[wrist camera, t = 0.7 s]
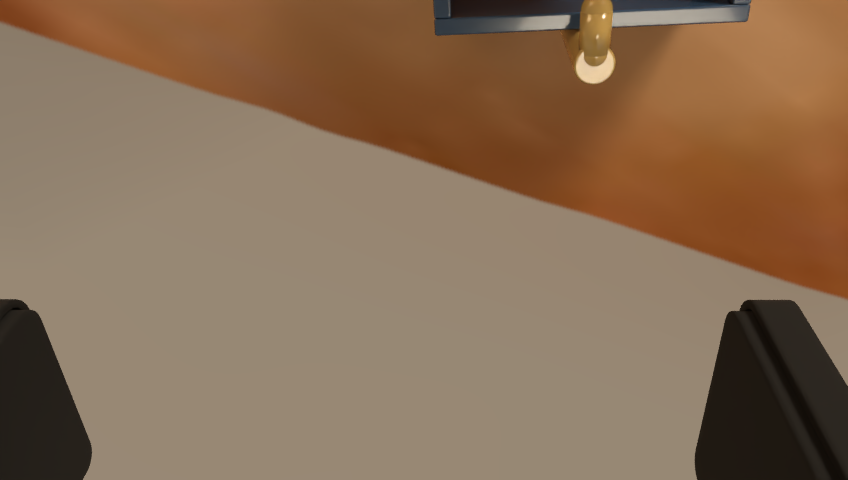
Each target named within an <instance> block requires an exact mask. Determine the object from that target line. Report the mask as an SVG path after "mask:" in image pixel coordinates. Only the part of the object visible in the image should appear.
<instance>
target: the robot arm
mask: <svg viewBox="0 0 848 480" xmlns="http://www.w3.org/2000/svg"><path fill="white" fill-rule="evenodd" d="M91 456H92V448H91V443H90V440H89V438H88V435H87V433H86V431H85V428H84V426H83V423H82V420H81V418H80V415H79V413H78V411H77V408H76V406H75V403H74V400H73V398H72V395H71V393H70V390H69V388H68V385H67V383H66V380H65V378H64V375H63V373H62V370H61V368H60V365H59V363H58V360H57V358H56V356H55V353H54V351H53V348H52V345H51V343H50V340H49V338H48V335H47V333H46V330H45V328H44V325H43V323H42V320H41V318H40V316H39V315H38V314H37V313H36V312H35V311H33V310H29V308H28V306H27V305H26V304H25V303H24V302H23V301H21V300H16V299H14V300H13V299H10V300H9V299H0V480H83V478H84V476H85V474H86V473H87V471H88V468H89V466H90V462H91ZM695 470H696V476H697V480H848V386H847V385H846V383H845V381H844V380H843V378H842V376H841V375H840V373H839V372H838V370H837V368H836V367H835V365H834V363H833V362H832V360H831V359H830V357H829V355H828V354H827V352H826V350H825V349H824V347H823V345H822V344H821V342H820V341H819V339H818V337H817V336H816V334H815V332H814V331H813V329H812V327H811V326H810V324H809V323H808V321H807V319H806V318H805V316H804V315H803V313H802V311H801V310H800V308H799V306H798V305H797V304H796V303H795V302H794V301H791V300H747V301H745V302H744V303H743V304H742V305H741V308H740V311H731V312H729V313H728V314H727V317H726V320H725V323H724V328H723V333H722V337H721V341H720V346H719V350H718V354H717V359H716V363H715V368H714V372H713V376H712V381H711V385H710V390H709V394H708V398H707V403H706V408H705V412H704V416H703V420H702V425H701V430H700V434H699V438H698V443H697V447H696V452H695Z"/></svg>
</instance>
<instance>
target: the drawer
mask: <svg viewBox="0 0 848 480" xmlns="http://www.w3.org/2000/svg"><path fill="white" fill-rule="evenodd" d="M750 3H751V0H433V5H434V17H435V20H434V24H435V35H437V36H441V35H463V34H485V33H508V32H530V31H552V30H560V32H561V35H562V38H563V40H564V43H565V46H566V49H567V52H568V55H569V58H570V61H571V63H572V66H573V69H574V72H575V74H576V76H577V78H578V79H579V80H580V81H582V82H584V83H586V84H599V83H602V82H604V81H605V80H607V79H608V78H609V77H610V76H611V75H612V73H613V72H614V69H615V65H616V59H615V56H614V53H613V51H612V49H611V47H610V46H611V33H612V28H619V27H641V26H663V25H685V24H707V23H730V22H746V21H747V20H748V16H749V10H750Z"/></svg>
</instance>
